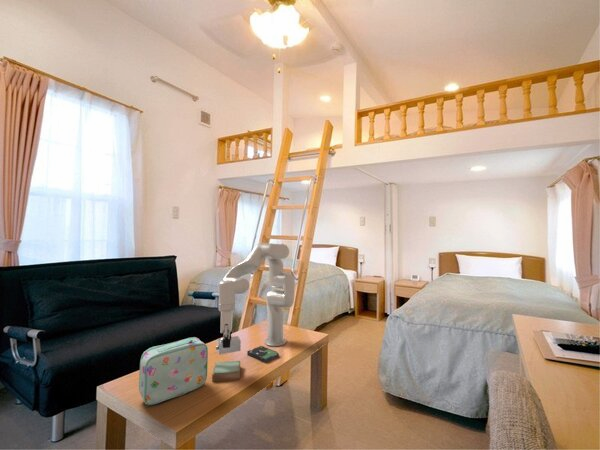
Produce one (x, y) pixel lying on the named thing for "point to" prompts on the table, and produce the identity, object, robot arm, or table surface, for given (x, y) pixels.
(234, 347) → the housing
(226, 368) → the green and brown block
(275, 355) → the disk drive
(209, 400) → the table surface
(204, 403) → the table surface
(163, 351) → the lunch box
